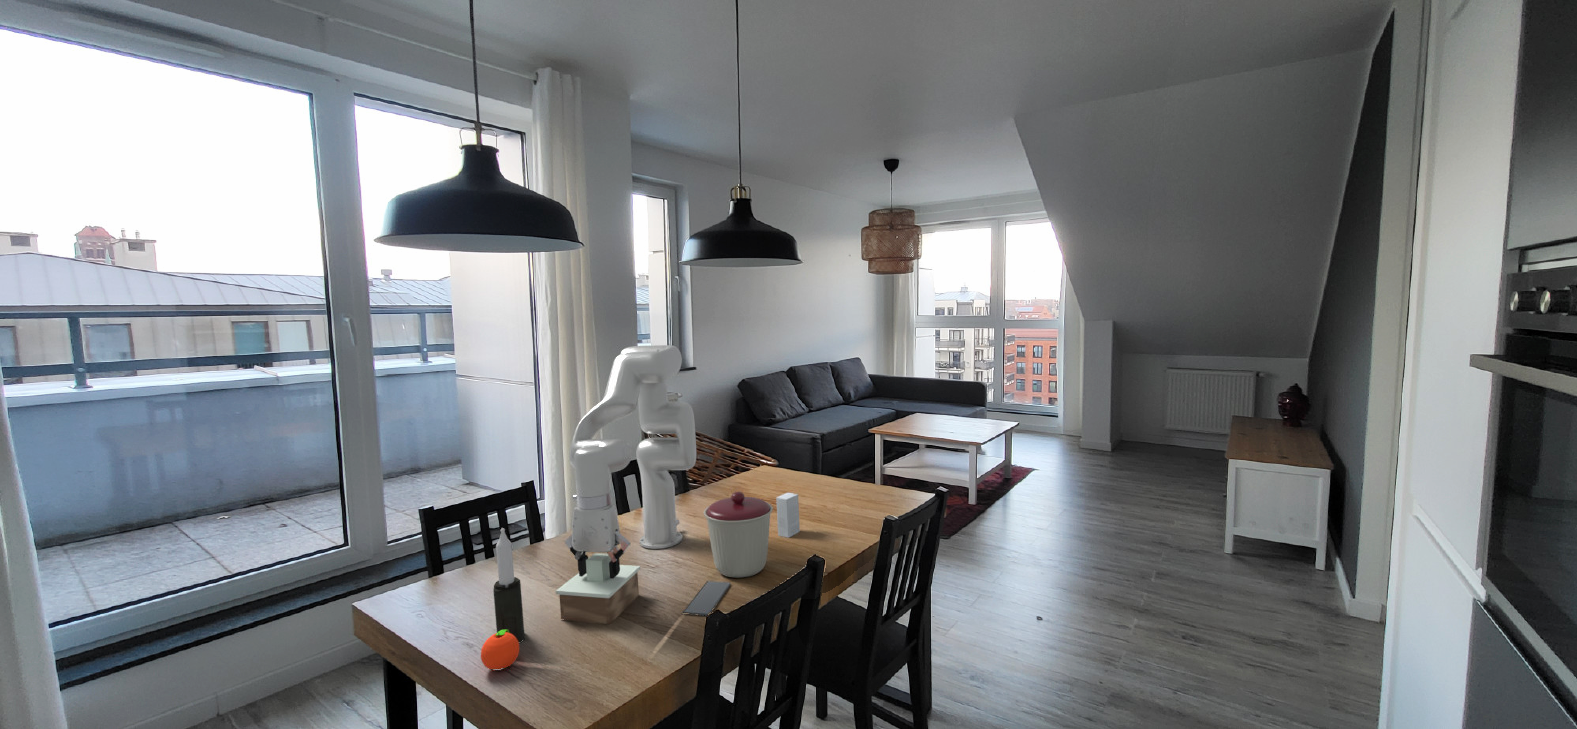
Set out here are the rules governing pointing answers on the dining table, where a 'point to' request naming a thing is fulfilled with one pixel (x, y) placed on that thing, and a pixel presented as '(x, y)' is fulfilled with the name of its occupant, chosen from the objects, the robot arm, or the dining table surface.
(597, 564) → the lid
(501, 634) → the clementine
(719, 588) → the trivet
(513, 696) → the dining table surface
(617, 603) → the box
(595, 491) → the robot arm
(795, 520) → the skincare box
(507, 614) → the candle
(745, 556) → the canister
